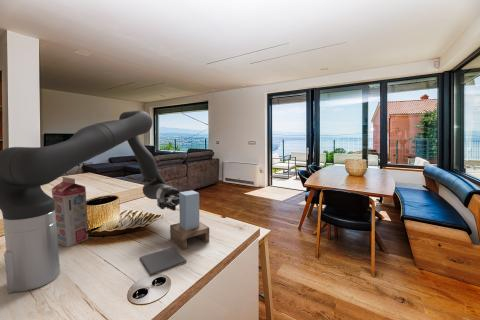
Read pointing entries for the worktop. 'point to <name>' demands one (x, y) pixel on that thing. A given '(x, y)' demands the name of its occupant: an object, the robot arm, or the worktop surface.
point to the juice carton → (70, 212)
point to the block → (189, 209)
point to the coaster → (162, 260)
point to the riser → (188, 234)
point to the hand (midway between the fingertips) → (186, 205)
